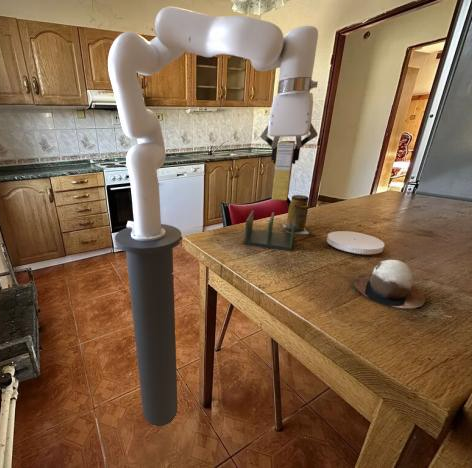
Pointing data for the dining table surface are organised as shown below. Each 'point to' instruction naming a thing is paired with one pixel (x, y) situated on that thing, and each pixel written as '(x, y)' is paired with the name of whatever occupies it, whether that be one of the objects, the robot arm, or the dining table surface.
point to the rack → (268, 235)
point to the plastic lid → (355, 242)
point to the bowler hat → (390, 285)
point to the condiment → (297, 214)
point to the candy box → (283, 170)
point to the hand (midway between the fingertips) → (284, 162)
